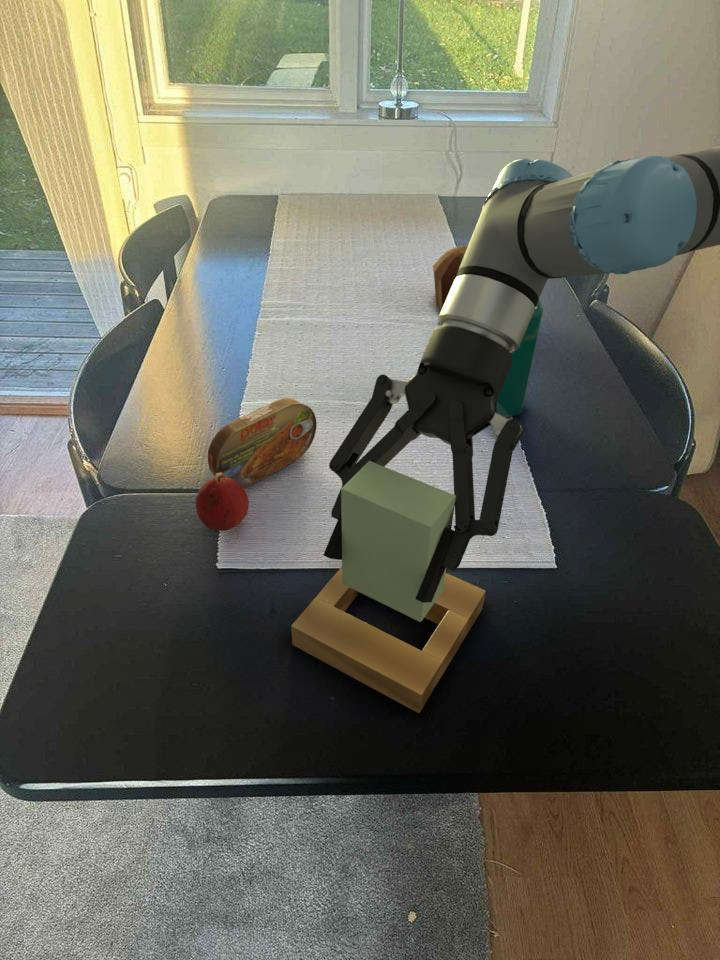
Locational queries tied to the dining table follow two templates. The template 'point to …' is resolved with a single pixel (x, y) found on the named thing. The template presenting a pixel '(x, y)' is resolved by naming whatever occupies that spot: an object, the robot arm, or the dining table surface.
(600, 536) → the dining table surface
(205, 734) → the dining table surface
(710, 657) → the dining table surface
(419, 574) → the pale green block
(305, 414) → the tin
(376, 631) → the mount block
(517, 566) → the dining table surface
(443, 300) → the brown wooden arched block
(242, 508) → the onion
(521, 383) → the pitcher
